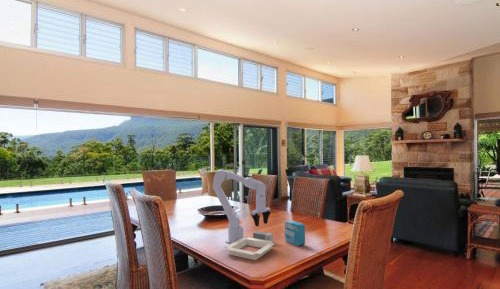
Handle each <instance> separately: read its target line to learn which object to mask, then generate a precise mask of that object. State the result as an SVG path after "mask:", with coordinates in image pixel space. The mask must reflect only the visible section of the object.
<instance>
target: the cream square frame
mask: <svg viewBox="0 0 500 289" xmlns="http://www.w3.org/2000/svg"><path fill="white" fill-rule="evenodd" d="M275 245H276V243H274V240H273V241H267V240H261V239H255V238H253V237H243V238H241V239H239V240H237V241H235V242H233V243H229V244H228V245H225V247H224V248H225V250H226V251H228V255H229V256H235V257H239V258H244V259H249V260H252V261H253V260H254V261H257V260H258V259H259V258H261V257H262V256H264V255H265V254H267V253H268V252H270V251H271V250H272V247H273V246H275ZM245 246H250V247H255V248H260V249H258V250H257V251H250V250H244V249H242V248H245Z"/></svg>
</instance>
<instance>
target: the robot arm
mask: <svg viewBox="0 0 500 289" xmlns="http://www.w3.org/2000/svg"><path fill="white" fill-rule="evenodd" d="M225 180H233V181H236V182H239V183H242V184H243V185H244V186H245V187H246V188H249V189H252V190H255V191H256V192H255V194H256V195H255V209H253V210H252V211H251V218H252V219H253V222H254V226H255V227H259V226H260V217H261V215H260V214H262V219H263V224H264V225H267V224H268V220H269V218H270V215H271V207H266V206H267V204H266V199H267V198H266V190H267V187H266V184H265V183H264V182H262V181H260V180H257V179H254V178H253V177H252V176H250V177H249V176H247V177H243V176H241V175H238V174H237V173H234V172H232V171H229V170H224V169H222V168H220V169H218V170H217V171H216V172H215V173H214V176H213V182H212V189H213V191H214V192H215V193H214V194H215V195H216V196H217V199H218V200H219V203H220V205H221V206H222V208H223V211H224V212H225V214H226V217H227V220H228V227H227V228H228V230H227V231H228V233H227V234H228V239H227V240H226V241H225V243H229V244H231V243H233V242H235V241H237V240H239V239H241V238H244V227H243V226H242V224H240V222H241V221H240V217H239V215H238V214H237V213H236V212H235V210H234V209H233V207H232V205H231V203H230V202H229V199H228V198H227V196H226V193H225V192H224V190H223V187H222V184H223V182H224V181H225Z"/></svg>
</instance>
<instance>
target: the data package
mask: <svg viewBox="0 0 500 289" xmlns="http://www.w3.org/2000/svg"><path fill="white" fill-rule="evenodd" d="M284 234H285V236H284V237H285V238H284V239H285V241H286V243H290V244H292V245H294V246H297V247H301V246H303V245H306V226H305V224H304V223H302V222H299V221H295V220H287V221H285V223H284Z"/></svg>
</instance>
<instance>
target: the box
mask: <svg viewBox="0 0 500 289" xmlns="http://www.w3.org/2000/svg"><path fill="white" fill-rule="evenodd" d="M252 238H255V239H261V240H267V241H273V242H274V233H272V232H266V231H260V230H259V231H258V230H256V231H254V232H253V233H252Z"/></svg>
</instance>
